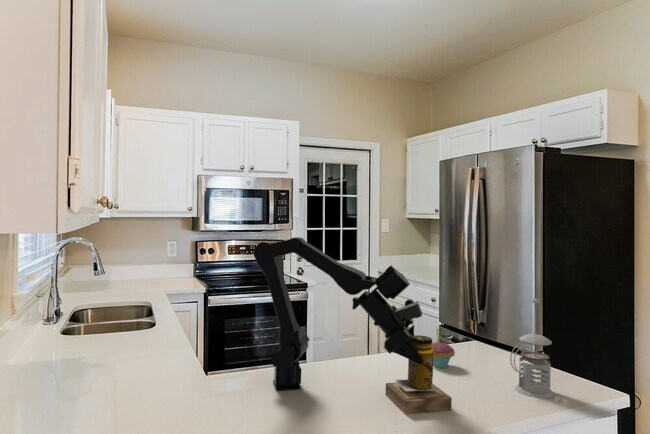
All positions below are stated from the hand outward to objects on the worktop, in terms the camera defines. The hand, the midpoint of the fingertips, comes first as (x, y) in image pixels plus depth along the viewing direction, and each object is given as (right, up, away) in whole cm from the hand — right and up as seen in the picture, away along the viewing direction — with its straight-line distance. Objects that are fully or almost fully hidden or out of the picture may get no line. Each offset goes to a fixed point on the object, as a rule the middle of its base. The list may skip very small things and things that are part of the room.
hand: (422, 359), depth 112 cm
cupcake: (+12, -11, +29) cm, 34 cm away
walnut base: (-1, -11, 0) cm, 11 cm away
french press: (+31, -12, +10) cm, 35 cm away
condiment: (-2, -7, 0) cm, 7 cm away
